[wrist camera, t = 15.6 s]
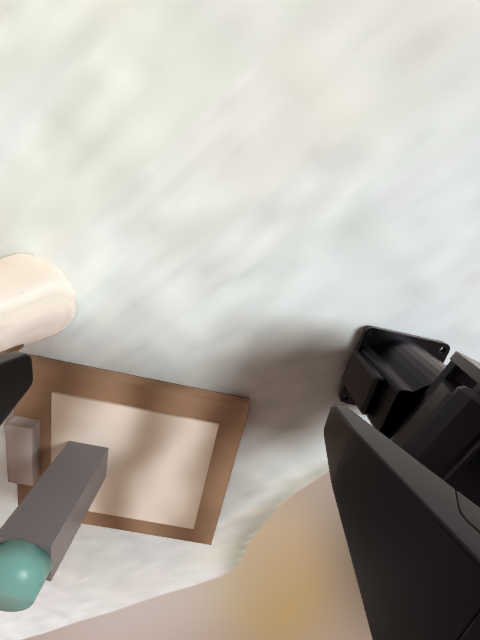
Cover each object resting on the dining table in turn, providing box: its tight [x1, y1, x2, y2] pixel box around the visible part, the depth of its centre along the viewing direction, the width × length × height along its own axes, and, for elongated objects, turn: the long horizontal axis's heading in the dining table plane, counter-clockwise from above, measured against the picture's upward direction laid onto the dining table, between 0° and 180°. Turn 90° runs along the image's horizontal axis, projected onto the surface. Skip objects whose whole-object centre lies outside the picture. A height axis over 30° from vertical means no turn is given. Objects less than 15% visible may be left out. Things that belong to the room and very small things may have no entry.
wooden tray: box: [5, 355, 249, 545], centre depth 25 cm, size 18×16×2 cm
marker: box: [0, 441, 109, 612], centre depth 20 cm, size 3×3×9 cm
